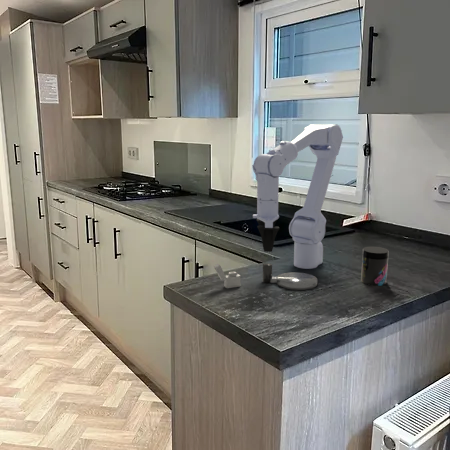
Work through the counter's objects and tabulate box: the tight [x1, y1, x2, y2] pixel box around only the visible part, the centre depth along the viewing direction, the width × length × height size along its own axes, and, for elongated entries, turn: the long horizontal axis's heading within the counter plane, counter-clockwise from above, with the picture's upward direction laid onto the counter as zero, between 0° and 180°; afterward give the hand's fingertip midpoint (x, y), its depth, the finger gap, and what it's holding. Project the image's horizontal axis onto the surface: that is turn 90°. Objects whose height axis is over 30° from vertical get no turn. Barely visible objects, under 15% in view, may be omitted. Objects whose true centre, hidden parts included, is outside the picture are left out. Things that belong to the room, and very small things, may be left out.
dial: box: [261, 262, 318, 291], centre depth 125 cm, size 15×11×5 cm
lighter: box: [213, 263, 242, 289], centre depth 122 cm, size 7×2×8 cm, turn 112°
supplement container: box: [360, 246, 390, 287], centre depth 125 cm, size 7×7×10 cm
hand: (267, 247), depth 127 cm, fingers open, 7 cm apart
